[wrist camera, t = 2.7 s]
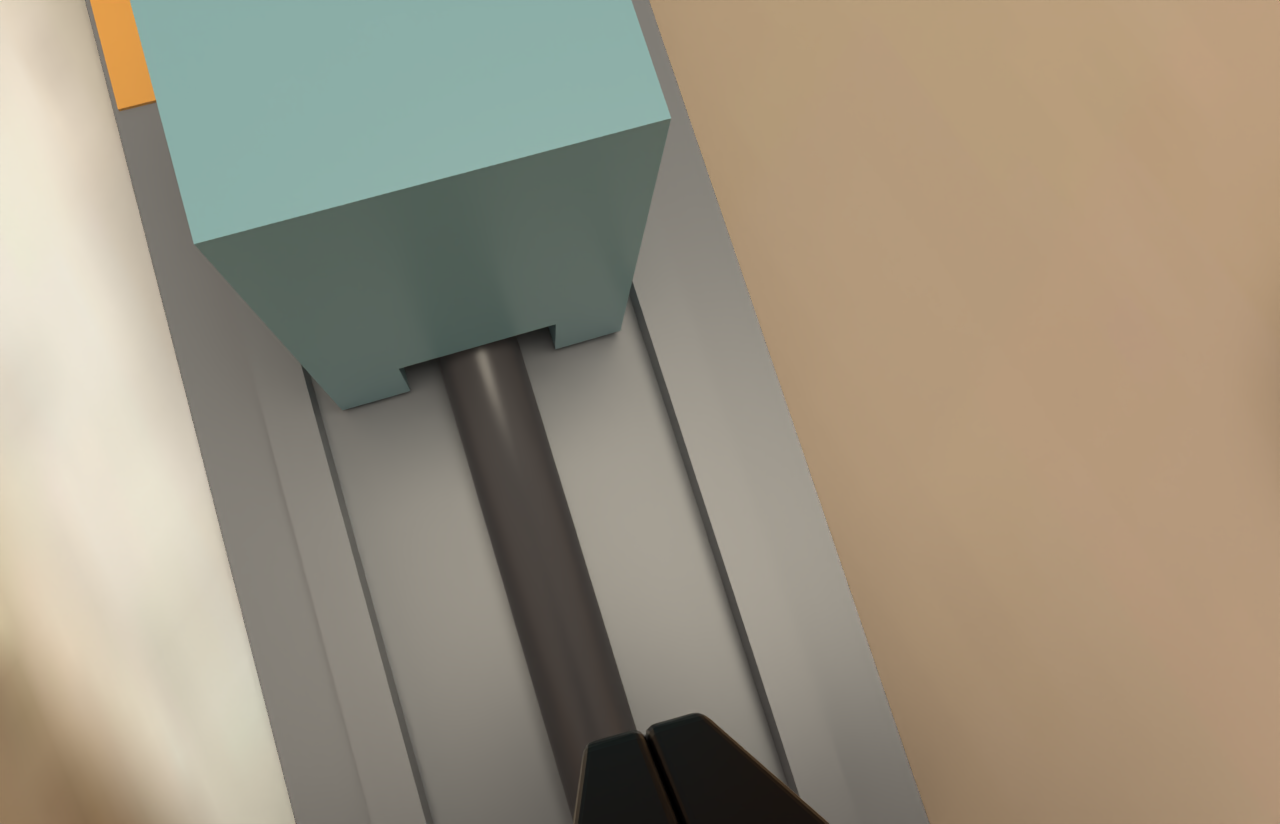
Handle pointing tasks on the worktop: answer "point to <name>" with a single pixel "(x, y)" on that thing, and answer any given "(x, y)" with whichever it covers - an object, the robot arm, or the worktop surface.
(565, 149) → the notched teal block
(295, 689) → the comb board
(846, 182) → the worktop surface
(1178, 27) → the worktop surface
